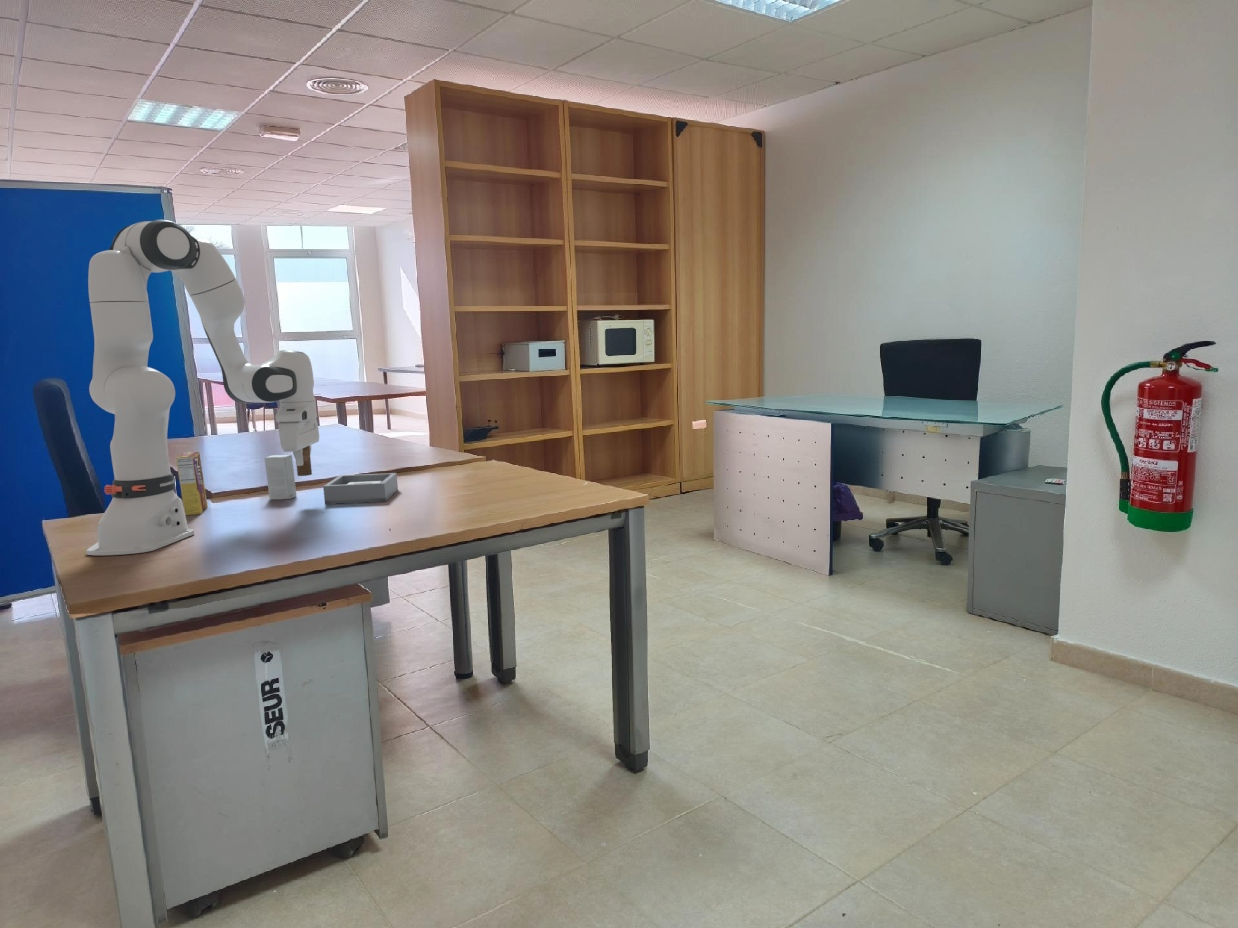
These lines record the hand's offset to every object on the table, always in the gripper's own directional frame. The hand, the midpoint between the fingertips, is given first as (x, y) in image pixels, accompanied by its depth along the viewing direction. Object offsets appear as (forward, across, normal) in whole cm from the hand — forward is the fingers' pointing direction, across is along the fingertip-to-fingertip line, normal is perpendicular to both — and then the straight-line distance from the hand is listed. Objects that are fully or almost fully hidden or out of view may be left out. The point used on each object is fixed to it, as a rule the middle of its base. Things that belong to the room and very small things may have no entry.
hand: (303, 463), depth 211 cm
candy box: (+11, +3, -28) cm, 30 cm away
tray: (+11, -6, +13) cm, 18 cm away
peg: (+3, 0, 0) cm, 3 cm away
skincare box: (+11, -10, -10) cm, 18 cm away
